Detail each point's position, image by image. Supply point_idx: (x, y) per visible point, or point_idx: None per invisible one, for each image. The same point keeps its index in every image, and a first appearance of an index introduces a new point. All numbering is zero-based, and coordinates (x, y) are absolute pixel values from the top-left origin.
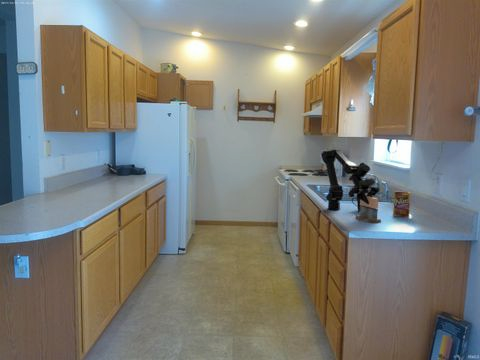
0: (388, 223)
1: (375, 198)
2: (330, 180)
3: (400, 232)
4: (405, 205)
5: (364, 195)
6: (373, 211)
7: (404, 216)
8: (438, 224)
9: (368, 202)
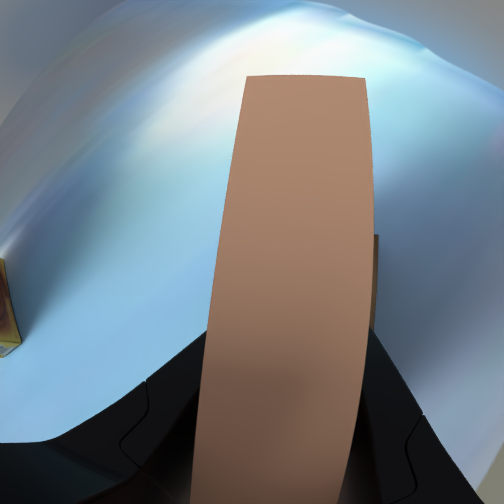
0: None
1: (307, 107)
2: None
3: (353, 23)
4: None
5: (437, 496)
6: None
7: (3, 278)
8: (44, 104)
9: None
